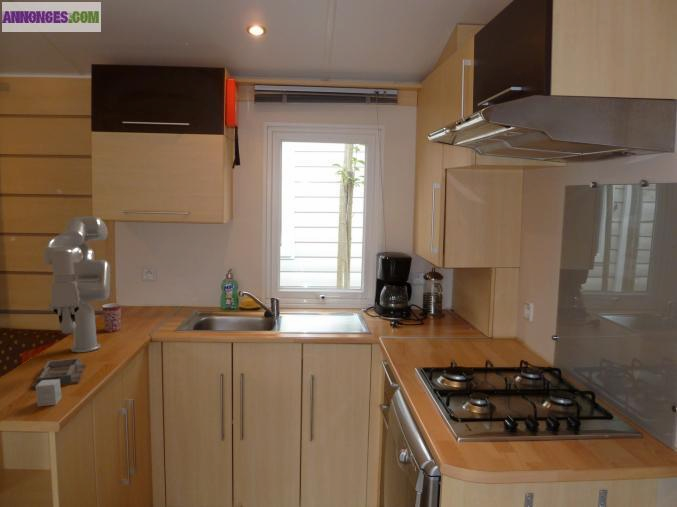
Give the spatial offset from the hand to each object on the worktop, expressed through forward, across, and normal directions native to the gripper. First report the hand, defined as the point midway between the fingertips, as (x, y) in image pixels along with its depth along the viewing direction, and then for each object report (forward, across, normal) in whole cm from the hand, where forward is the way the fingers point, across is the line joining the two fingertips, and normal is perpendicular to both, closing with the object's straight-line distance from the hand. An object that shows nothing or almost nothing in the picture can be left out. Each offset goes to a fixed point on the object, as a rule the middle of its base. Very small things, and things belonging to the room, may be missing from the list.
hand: (67, 323), depth 221 cm
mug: (+19, -14, -62) cm, 66 cm away
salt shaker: (+4, 0, 0) cm, 4 cm away
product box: (+20, +3, +35) cm, 40 cm away
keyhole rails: (+20, +3, +7) cm, 21 cm away
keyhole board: (+20, +3, +7) cm, 21 cm away
